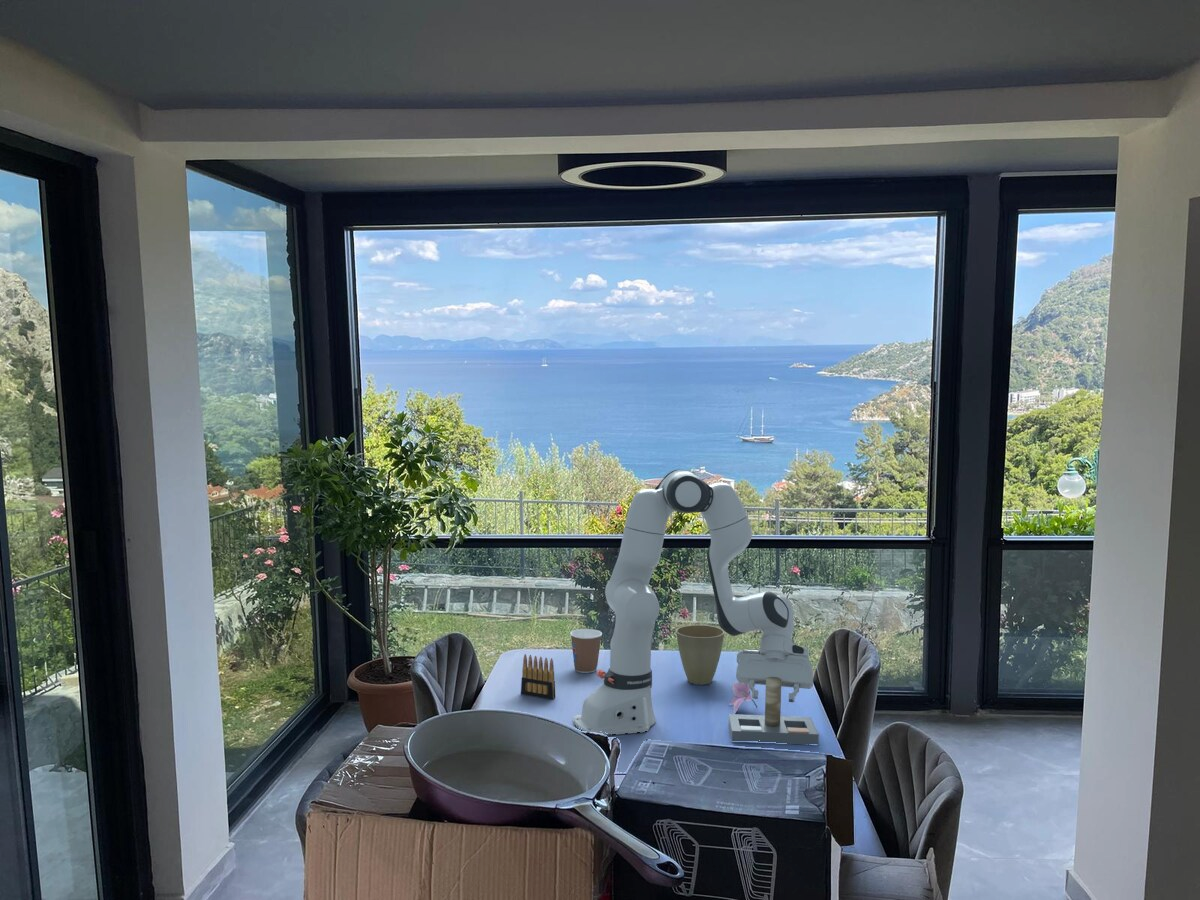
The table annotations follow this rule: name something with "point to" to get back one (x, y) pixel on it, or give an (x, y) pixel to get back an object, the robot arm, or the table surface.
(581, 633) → the coffee cup
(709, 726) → the table surface
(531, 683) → the ammunition clip
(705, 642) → the plant pot
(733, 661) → the table surface
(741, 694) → the lily
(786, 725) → the socket deck
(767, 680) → the peg
